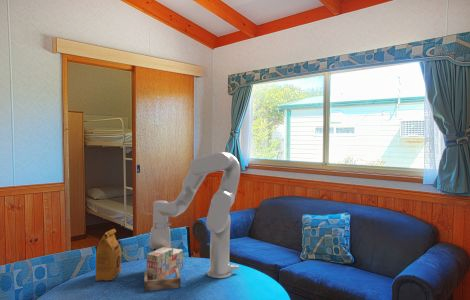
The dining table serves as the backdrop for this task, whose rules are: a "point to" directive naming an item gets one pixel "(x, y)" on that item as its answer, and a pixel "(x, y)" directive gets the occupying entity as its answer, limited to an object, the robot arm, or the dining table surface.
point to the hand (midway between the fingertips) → (160, 261)
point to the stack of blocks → (163, 262)
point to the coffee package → (108, 257)
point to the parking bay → (162, 282)
